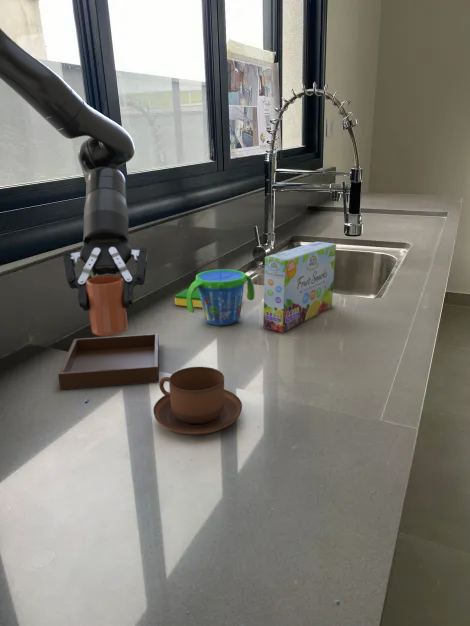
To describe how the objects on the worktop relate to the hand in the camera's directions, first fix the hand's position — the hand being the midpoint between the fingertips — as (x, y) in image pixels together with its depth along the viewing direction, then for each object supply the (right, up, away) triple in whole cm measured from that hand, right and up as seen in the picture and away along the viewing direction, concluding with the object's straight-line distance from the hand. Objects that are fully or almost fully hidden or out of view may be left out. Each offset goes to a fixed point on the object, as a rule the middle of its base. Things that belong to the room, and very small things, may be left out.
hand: (106, 307), depth 79 cm
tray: (0, -10, +6) cm, 12 cm away
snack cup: (+18, -3, +28) cm, 33 cm away
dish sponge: (+14, +1, +40) cm, 42 cm away
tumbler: (0, -4, +3) cm, 5 cm away
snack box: (+35, -2, +29) cm, 45 cm away
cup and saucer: (+16, -16, -11) cm, 25 cm away
